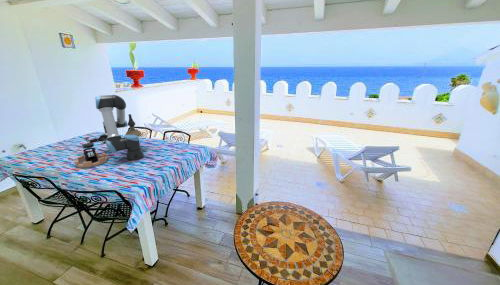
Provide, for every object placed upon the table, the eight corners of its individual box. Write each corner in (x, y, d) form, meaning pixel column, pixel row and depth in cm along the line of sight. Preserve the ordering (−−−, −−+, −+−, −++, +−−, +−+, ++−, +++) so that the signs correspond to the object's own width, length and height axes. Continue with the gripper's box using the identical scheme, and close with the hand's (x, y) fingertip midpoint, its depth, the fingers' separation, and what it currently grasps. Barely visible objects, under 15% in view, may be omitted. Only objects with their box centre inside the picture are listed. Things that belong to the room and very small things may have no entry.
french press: (91, 158, 196) (85, 136, 188) (101, 158, 196) (95, 136, 188) (82, 164, 185) (75, 140, 177) (93, 164, 185) (86, 140, 177)
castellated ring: (113, 158, 200) (111, 153, 198) (93, 169, 178) (91, 163, 176) (91, 156, 203) (90, 151, 201) (69, 167, 181) (67, 161, 179)
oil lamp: (125, 152, 214) (117, 115, 201) (135, 147, 228) (128, 112, 214) (137, 153, 212) (131, 116, 198) (147, 148, 226) (141, 113, 212)
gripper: (118, 140, 216) (108, 147, 196) (93, 141, 213) (80, 148, 193) (117, 133, 214) (106, 140, 194) (91, 134, 210) (78, 141, 190)
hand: (93, 144), depth 193 cm, fingers open, 13 cm apart
